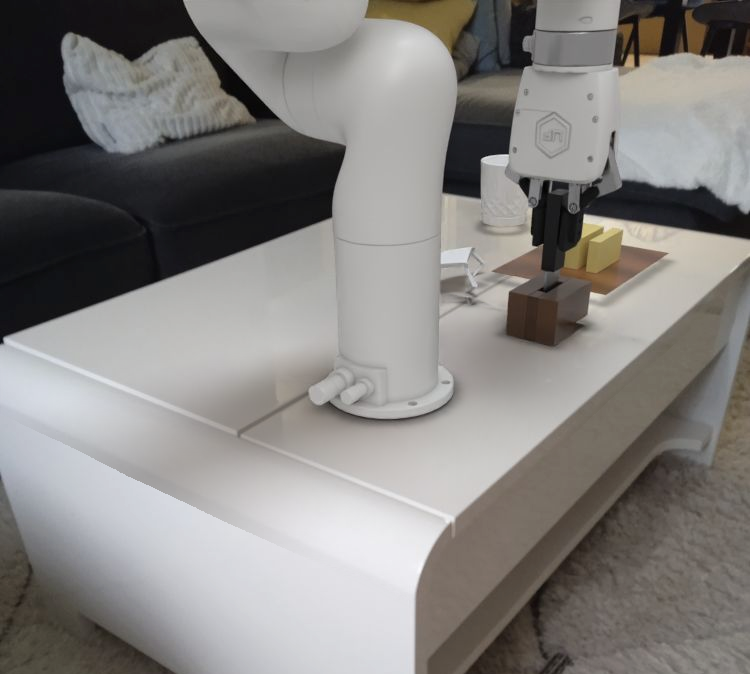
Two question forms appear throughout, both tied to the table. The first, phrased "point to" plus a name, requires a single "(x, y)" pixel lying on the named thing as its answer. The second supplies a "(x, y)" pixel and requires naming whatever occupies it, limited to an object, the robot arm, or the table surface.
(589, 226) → the butter block
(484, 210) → the white cup
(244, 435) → the table surface
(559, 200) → the knife
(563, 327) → the knife block
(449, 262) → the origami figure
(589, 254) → the butter slice
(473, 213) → the table surface
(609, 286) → the butter board
